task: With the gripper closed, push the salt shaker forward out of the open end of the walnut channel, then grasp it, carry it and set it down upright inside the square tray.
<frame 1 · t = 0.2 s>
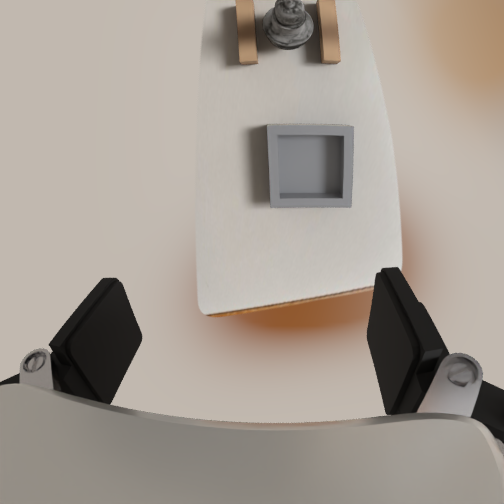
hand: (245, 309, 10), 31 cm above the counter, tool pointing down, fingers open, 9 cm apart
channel: (287, 31, 29), on the counter
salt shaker: (287, 32, 29), on the counter
square tray: (309, 162, 37), on the counter
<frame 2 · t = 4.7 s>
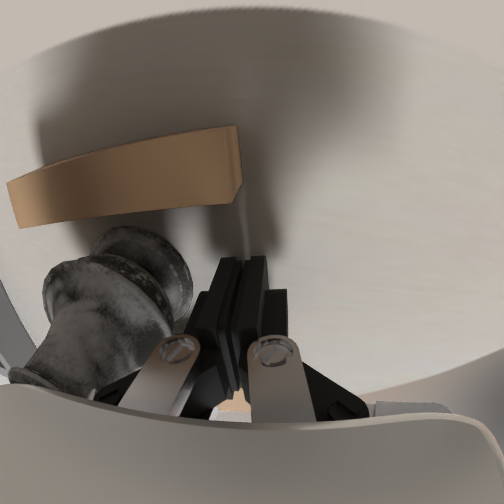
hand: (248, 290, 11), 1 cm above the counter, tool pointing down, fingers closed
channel: (152, 280, 13), on the counter
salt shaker: (139, 277, 13), on the counter, touching gripper
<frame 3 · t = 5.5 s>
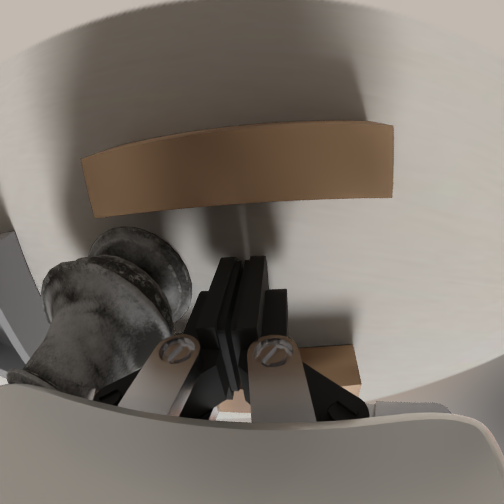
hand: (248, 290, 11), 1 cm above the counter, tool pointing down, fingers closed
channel: (252, 279, 12), on the counter
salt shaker: (138, 278, 13), on the counter, touching gripper
square tray: (5, 303, 15), on the counter
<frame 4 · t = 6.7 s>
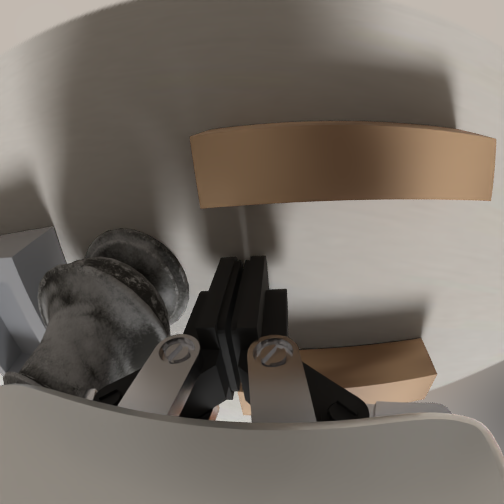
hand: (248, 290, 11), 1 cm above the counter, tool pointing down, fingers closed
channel: (344, 277, 11), on the counter
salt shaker: (135, 280, 13), on the counter, touching gripper
square tray: (31, 309, 15), on the counter
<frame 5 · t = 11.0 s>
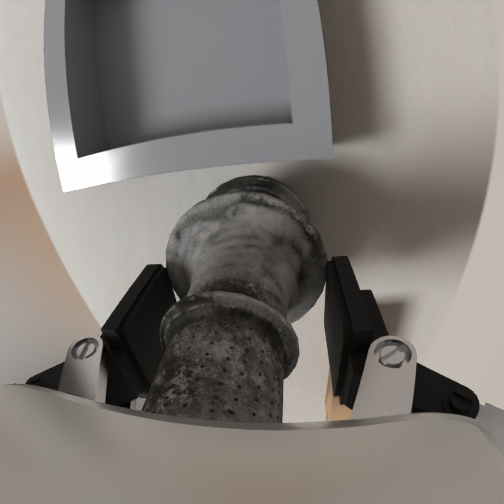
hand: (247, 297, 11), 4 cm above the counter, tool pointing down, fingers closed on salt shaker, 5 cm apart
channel: (267, 365, 18), on the counter
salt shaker: (253, 230, 14), on the counter, touching gripper
square tray: (184, 44, 10), on the counter
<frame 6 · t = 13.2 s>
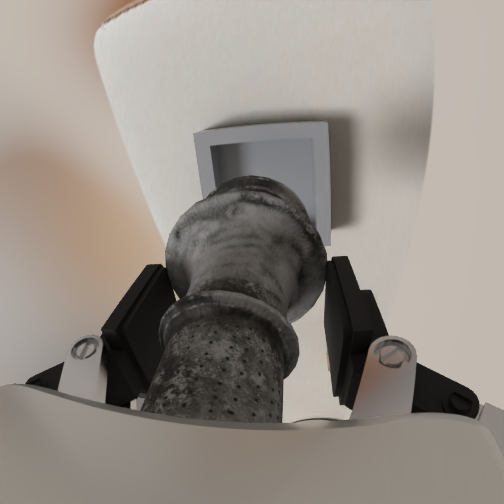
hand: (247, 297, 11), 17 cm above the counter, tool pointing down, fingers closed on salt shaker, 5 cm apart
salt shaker: (253, 230, 14), point 13 cm above the counter, touching gripper
square tray: (267, 180, 26), on the counter
when the fingers open (5 cm above the counter, at t = 15.7 s): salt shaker drops 1 cm, resting on square tray.
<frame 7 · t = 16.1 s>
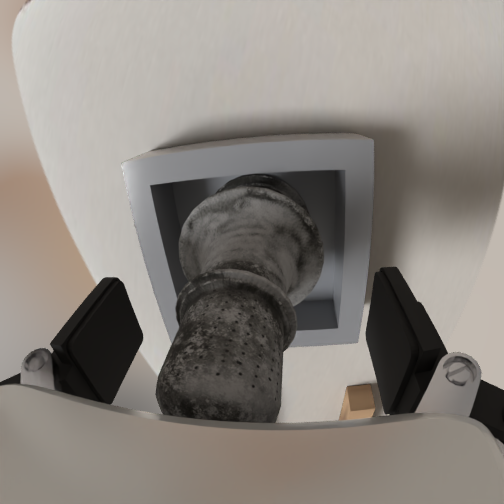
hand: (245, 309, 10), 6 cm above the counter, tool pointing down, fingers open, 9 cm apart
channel: (297, 416, 24), on the counter
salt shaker: (257, 223, 15), resting on square tray
square tray: (258, 235, 16), on the counter
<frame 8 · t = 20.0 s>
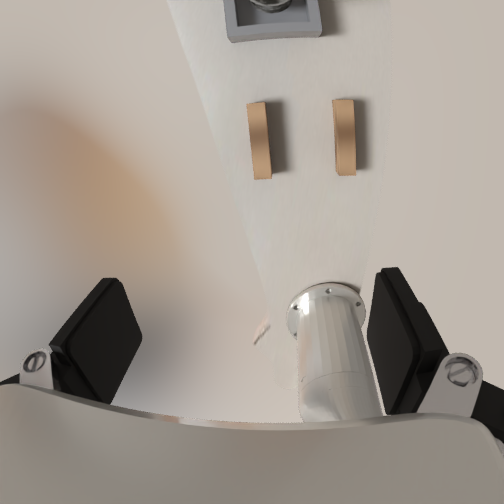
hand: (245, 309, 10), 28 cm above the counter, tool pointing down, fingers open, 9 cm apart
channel: (302, 136, 33), on the counter
square tray: (270, 3, 26), on the counter
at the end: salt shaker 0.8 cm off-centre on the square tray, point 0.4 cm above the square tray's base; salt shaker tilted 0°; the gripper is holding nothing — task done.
